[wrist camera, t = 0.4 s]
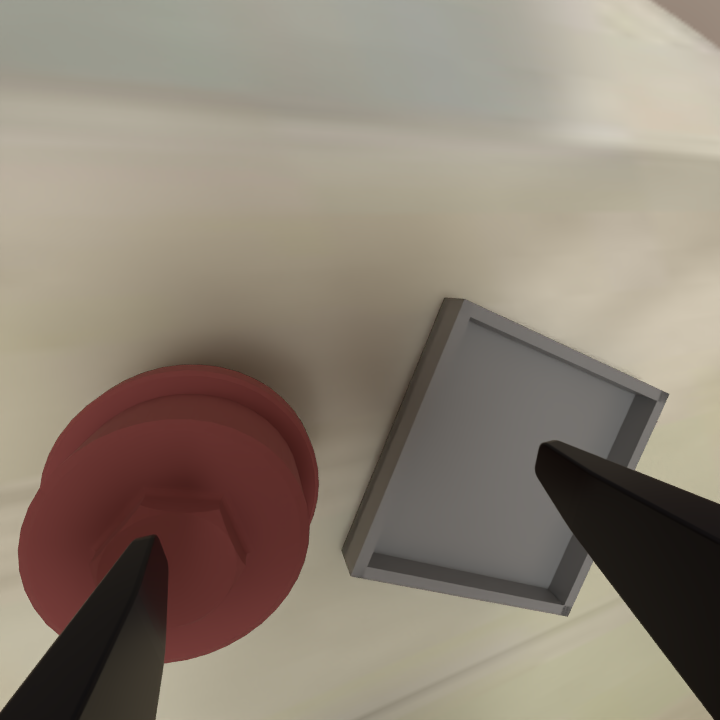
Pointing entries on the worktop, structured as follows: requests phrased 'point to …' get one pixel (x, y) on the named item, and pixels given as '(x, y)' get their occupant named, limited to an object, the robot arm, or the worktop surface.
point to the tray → (492, 463)
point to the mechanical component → (177, 502)
